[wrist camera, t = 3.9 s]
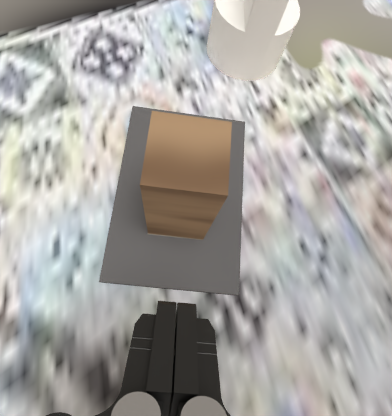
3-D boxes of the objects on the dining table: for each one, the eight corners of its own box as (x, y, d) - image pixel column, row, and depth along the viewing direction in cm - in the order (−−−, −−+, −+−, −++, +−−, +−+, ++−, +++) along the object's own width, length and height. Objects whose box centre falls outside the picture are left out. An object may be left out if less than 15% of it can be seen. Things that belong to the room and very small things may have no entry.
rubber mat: (133, 109, 32) (132, 106, 31) (243, 125, 33) (244, 121, 32) (100, 282, 26) (99, 281, 25) (237, 295, 27) (238, 294, 26)
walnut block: (155, 183, 29) (151, 110, 18) (206, 189, 29) (231, 121, 19) (148, 234, 27) (139, 184, 17) (202, 239, 27) (227, 195, 17)
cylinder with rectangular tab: (206, 19, 37) (226, -107, 26) (276, 28, 38) (324, -91, 27) (205, 76, 34) (227, -38, 23) (281, 84, 35) (337, -23, 24)
